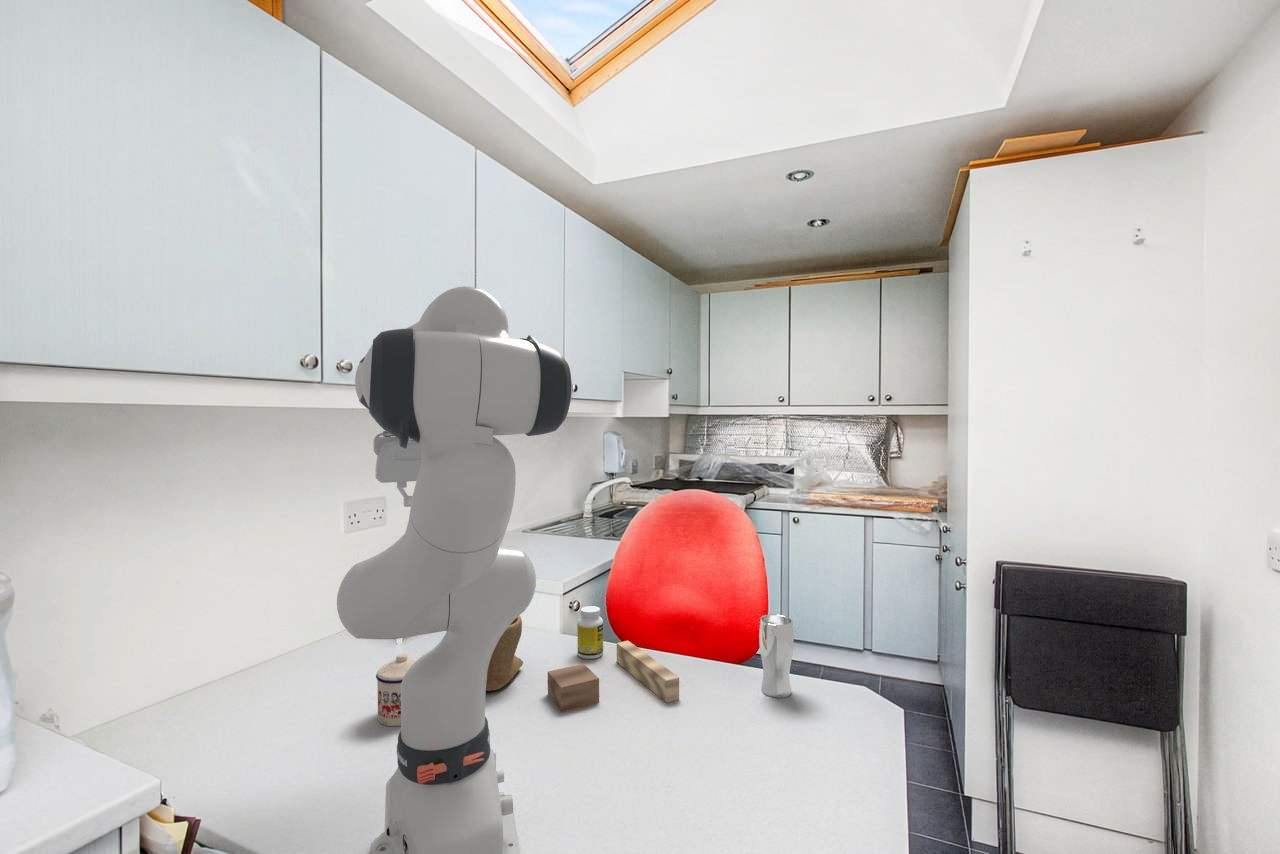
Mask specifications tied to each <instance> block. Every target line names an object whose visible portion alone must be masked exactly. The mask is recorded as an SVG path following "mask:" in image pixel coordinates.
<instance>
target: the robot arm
mask: <svg viewBox="0 0 1280 854" xmlns="http://www.w3.org/2000/svg"><path fill="white" fill-rule="evenodd" d="M354 383H355V384H354V388H355V393H356V397H357V398H358V401H359V403H360V404H361V405H362V406H364V407H365V408H366V409H367V410H368V412H369V414H370V416H371V417H372V418H373V420H375V423H377V424H378V426H379V427H380V428H382V430H383V431H382V432H381V433H378V434H376V436H375V437H374V439H373V452H374V453H375V455H376V462H375V475H374V476H375V479H376V480H377V481H378V482H379V483H382V484H386V483H387V484H388V483H389V484H390V483H396V488H397V490H398V491H399V493H400V494H401V496H402V497H403V506H404V508H408V507H410V510H409V517H408V522H407V525H406V529H405V533H404V534H403V535H402V536H401V537H400V538H399V539H398V540H397V541H395V542H394V543H393V544H392V545H390V546H389V547H388V548H386V549H385V550H383V551H381V552H379V553H378V554H376V555H374V556H371V557H370V558H367V559H366V560H365V559H364V560H362V561H360V562H357V563H355V564H354V565H352V566H351V568H350V569H349V570H348V572H347V573H346V574H345V576H343V579H342V581H340V582H341V583H340V586H339V587H338V592H337V595H336V596H337V598H336V610H337V614H338V618H339V620H340V622H341V624H342V625H343V627H344V629H345V630H346V631H347V632H348V634H350V635H351V636H353V637H354V638H355V639H359V640H362V639H363V640H399V639H404V638H411V637H416V636H422V635H428V634H429V635H430V634H433V633H440V632H445V634H444V636H443V637H442V639H441V640H440V641H439V643H437V645H436V646H434V647H433V648H432V649H431V650H429V651H428V652H426V653H424V654H423V655H421V656H420V657H419V658H417V659H418V660H417V661H415V662H414V663H413V664H412V666H411V667H410V668H409V669H408V671H407V672H406V674H405V676H404V678H403V680H402V683H401V726H400V731H399V733H398V736H397V744H396V757H397V768H396V770H395V772H394V773H393V775H392V776H391V777H390V778H389V780H388V781H387V782H386V783H385V800H384V801H385V804H384V805H385V806H384V831H383V832H382V833H380V834H379V835H378V836H377V837H376V838H374V839H373V841H372V842H371V843H370V848H369V850H370V851H369V854H521V852H520V847H519V840H518V835H517V827H516V821H515V816H514V801H513V800H514V799H513V795H512V794H511V793H510V794H506V795H505V793H504V791H499V784H500V783H504V782H505V771H504V770H502V771H497V752H496V751H494V750H493V749H492V748H491V744H490V742H491V733H490V728H489V721H488V719H487V717H486V693H487V692H486V681H487V671H488V666H489V663H490V659H491V657H492V654H493V651H494V649H495V647H496V645H497V643H498V641H499V640H500V638H501V636H502V635H503V633H504V632H505V630H506V629H507V628H508V627H509V625H510V624H511V623H512V622H513V621H514V620H515V619H516V618H517V617H518V616H519V615H520V616H521V615H522V614H523V613H524V612H525V611H526V610H527V608H528V607H529V606H530V604H531V602H532V600H533V597H534V595H535V592H536V585H537V577H536V570H535V567H534V564H533V562H532V560H531V559H530V557H529V556H528V554H527V553H526V552H525V551H524V550H523V549H522V548H521V547H518V546H513V545H504V544H503V545H502V543H503V540H504V537H505V535H506V532H507V528H508V525H509V523H510V522H509V521H510V520H511V515H512V512H513V509H514V508H513V507H514V503H515V496H516V479H517V478H516V475H517V473H516V463H515V460H514V458H513V455H512V453H511V452H510V450H509V449H508V448H507V446H506V445H505V444H504V443H503V442H502V441H500V440H499V439H498V438H496V437H495V436H511V435H523V434H525V435H526V436H527V437H533V436H541V435H545V434H549V433H553V432H556V431H557V430H558V429H559V428H561V427H560V426H562V424H564V422H565V421H566V419H567V416H568V413H569V409H570V406H571V402H572V399H573V398H572V397H573V383H572V373H571V369H570V366H569V364H568V361H567V360H566V358H564V356H563V355H562V354H561V353H560V352H559V351H558V350H556V349H554V348H552V347H551V346H548V345H546V344H544V343H541V342H539V341H538V340H537V339H536V338H535V337H533V336H532V335H531V334H528V336H527V337H526V338H514V337H512V336H509V321H508V318H507V314H506V312H505V310H504V308H503V306H502V305H501V304H500V302H499V301H498V300H497V298H495V297H494V296H492V294H490V293H489V292H487V291H485V290H483V289H480V288H477V287H474V286H473V287H472V286H465V285H463V286H456V287H452V288H450V289H447V290H446V291H444V292H442V293H441V294H439V295H438V296H437V297H436V298H435V299H434V300H433V301H432V302H430V304H429V305H428V306H427V307H426V308H425V310H424V311H423V313H422V315H421V316H420V318H419V321H417V322H416V323H414V324H412V325H410V326H409V327H405V328H396V329H390V330H385V331H381V332H379V334H377V335H376V336H375V337H374V339H372V344H371V346H370V347H369V349H368V350H367V352H366V354H365V356H363V358H361V359H360V361H359V364H358V365H357V367H356V372H355V377H354ZM407 482H408V483H409V482H415V484H414V485H415V486H414V489H413V492H412V495H408V494H407V491H405V489H406V488H407V486H408V485H407V484H408V483H407Z"/></svg>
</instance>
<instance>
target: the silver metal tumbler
mask: <svg viewBox="0 0 1280 854" xmlns="http://www.w3.org/2000/svg"><path fill="white" fill-rule="evenodd" d="M759 620H760V621H759V622H760V623H759V630H758V631H759V634H758V638H759V640H758V641H759V643H758V644H759V651H760V652H759V653H760V657H761V664H762V670H763V673H762V683H761V693H763V694H764V695H765V696H768V697H771V698H775V699H776V698H777V699H783V698H787V697H789V696H791V694H792V687H791V681H790V674H791V673H790V671H791V663H792V660H793V659H792V658H793V653H794V640H795V639H794V627H793V626H794V624H793V619H792V618H791V617H789V616H786V615H782V614H776V613H775V614H773V613H772V614H770V613H769V614H765V615H762V616H761V617H760V619H759Z"/></svg>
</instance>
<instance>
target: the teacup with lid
mask: <svg viewBox="0 0 1280 854" xmlns="http://www.w3.org/2000/svg"><path fill="white" fill-rule="evenodd" d="M418 659H419V658H412V657H409V656H408V654H407V653H399V654H398V655H396V657H395V659H393V660H391V661H390V662H388V663H385V664H384V665H381V667H380V668H379V669H378V670H377V672H376V675H375V678H376V680H377V719H378V722H379V723H380V724H381V725H384V726H387V727H401V683H402V680H403V678H404V676H405V674H406V672H407V671H408V669H409V668H410V667H411V666H412V664H413V663H414V662H415V661H417V660H418Z"/></svg>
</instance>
